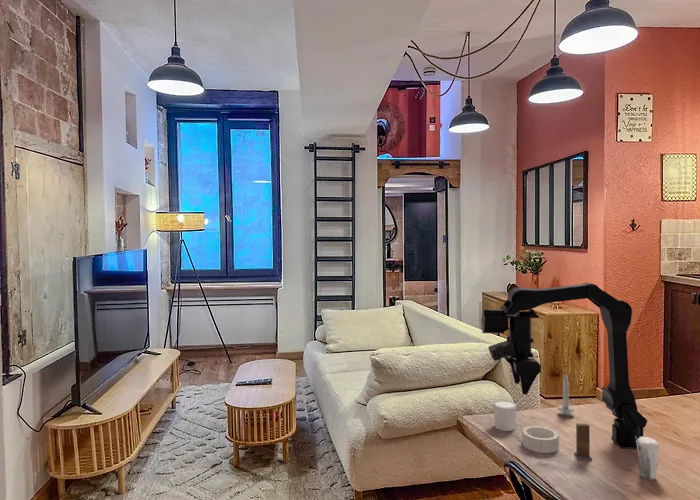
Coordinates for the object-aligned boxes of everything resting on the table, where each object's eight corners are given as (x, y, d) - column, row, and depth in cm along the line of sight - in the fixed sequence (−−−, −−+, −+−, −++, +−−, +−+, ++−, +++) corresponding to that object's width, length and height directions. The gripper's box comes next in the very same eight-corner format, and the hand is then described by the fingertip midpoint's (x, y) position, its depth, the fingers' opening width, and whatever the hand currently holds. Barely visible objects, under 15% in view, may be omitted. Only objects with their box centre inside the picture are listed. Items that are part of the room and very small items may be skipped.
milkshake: (628, 472, 114) (628, 431, 114) (649, 471, 114) (649, 430, 114) (641, 482, 109) (641, 440, 109) (663, 481, 110) (663, 438, 110)
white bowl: (552, 438, 133) (552, 426, 133) (563, 454, 124) (563, 440, 124) (518, 437, 134) (518, 425, 134) (527, 452, 125) (526, 439, 125)
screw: (577, 415, 150) (569, 418, 147) (562, 410, 154) (554, 414, 151) (577, 374, 149) (568, 377, 147) (562, 371, 153) (554, 374, 150)
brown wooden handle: (574, 454, 124) (574, 421, 124) (587, 454, 124) (587, 422, 123) (578, 460, 121) (578, 426, 121) (591, 460, 120) (591, 427, 120)
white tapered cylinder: (518, 432, 138) (518, 408, 138) (494, 431, 139) (493, 407, 139) (515, 423, 145) (515, 400, 144) (491, 421, 146) (491, 399, 146)
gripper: (485, 326, 142) (485, 378, 142) (496, 340, 123) (497, 399, 124) (523, 326, 141) (523, 378, 141) (541, 341, 122) (541, 400, 123)
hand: (520, 388), depth 132 cm, fingers open, 9 cm apart
